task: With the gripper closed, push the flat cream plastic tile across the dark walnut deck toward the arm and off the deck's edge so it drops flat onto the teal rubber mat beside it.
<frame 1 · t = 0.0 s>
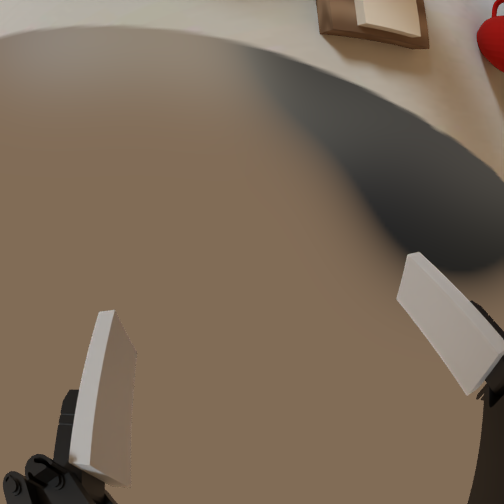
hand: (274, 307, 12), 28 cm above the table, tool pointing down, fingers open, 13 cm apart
tile: (384, 11, 24), point 4 cm above the table, touching deck
ceramic cup: (483, 35, 28), on the table
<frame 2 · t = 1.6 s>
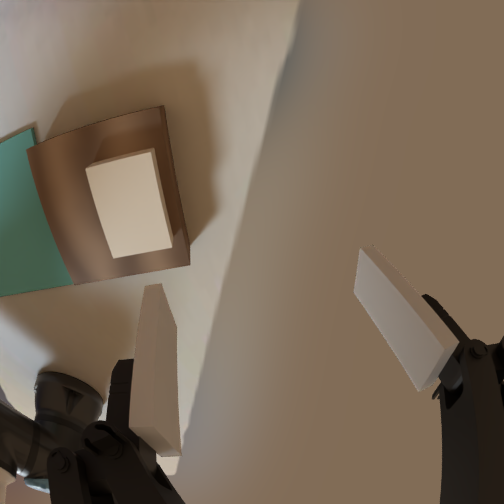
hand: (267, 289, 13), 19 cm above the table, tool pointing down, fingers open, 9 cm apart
tile: (132, 201, 25), point 4 cm above the table, touching deck
deck: (114, 193, 28), on the table
mat: (4, 225, 26), on the table
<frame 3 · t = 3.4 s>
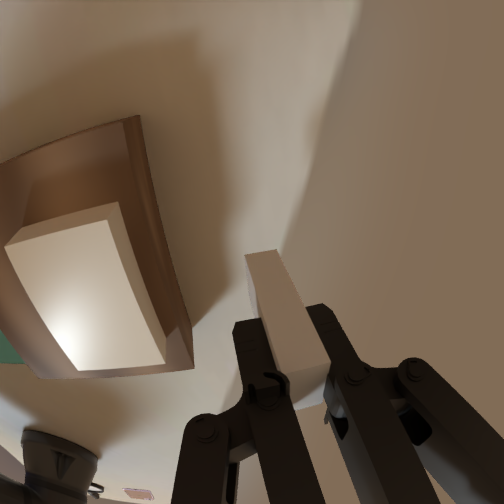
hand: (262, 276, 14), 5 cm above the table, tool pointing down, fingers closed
tile: (94, 289, 14), point 4 cm above the table, touching deck
mobile phone: (139, 492, 54), on the table
deck: (72, 259, 17), on the table
magnifying glass: (87, 485, 51), on the table
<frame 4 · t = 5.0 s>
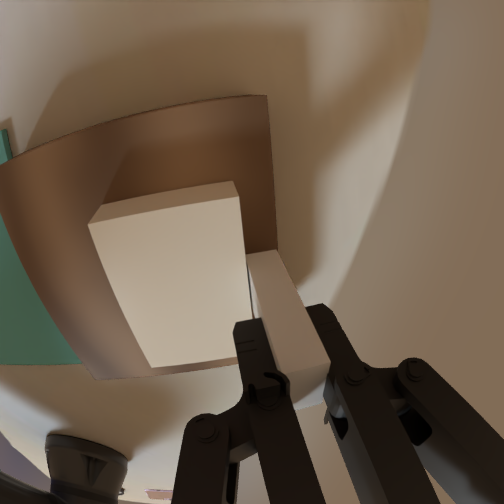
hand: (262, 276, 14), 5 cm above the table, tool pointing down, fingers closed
tile: (183, 276, 14), point 4 cm above the table
mobile phone: (160, 492, 55), on the table
deck: (152, 244, 17), on the table
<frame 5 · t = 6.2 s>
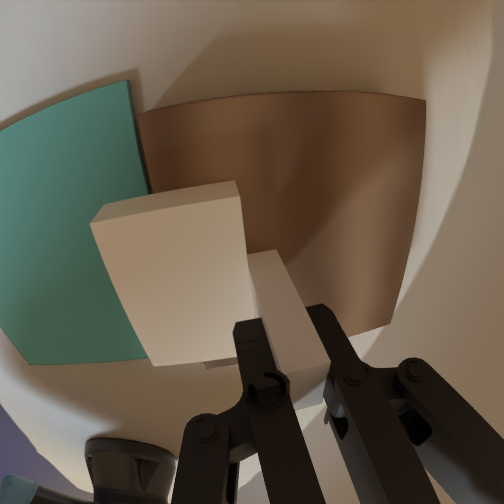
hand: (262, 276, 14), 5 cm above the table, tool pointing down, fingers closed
tile: (186, 275, 14), point 4 cm above the table, touching gripper
deck: (287, 219, 18), on the table
mat: (47, 265, 17), on the table
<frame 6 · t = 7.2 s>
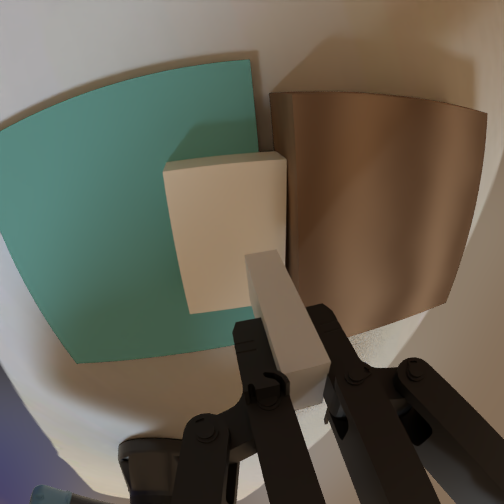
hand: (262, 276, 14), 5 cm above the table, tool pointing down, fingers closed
tile: (227, 229, 17), point 1 cm above the table, touching mat
deck: (373, 207, 19), on the table
mat: (124, 249, 17), on the table
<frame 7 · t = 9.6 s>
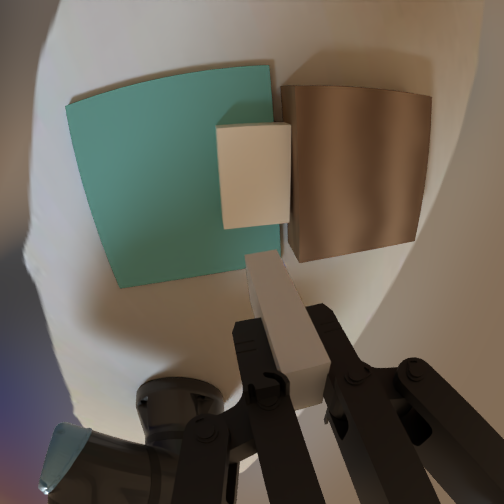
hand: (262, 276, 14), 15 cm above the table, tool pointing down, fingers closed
tile: (252, 171, 26), point 1 cm above the table, touching mat
deck: (351, 164, 27), on the table
mat: (178, 185, 26), on the table
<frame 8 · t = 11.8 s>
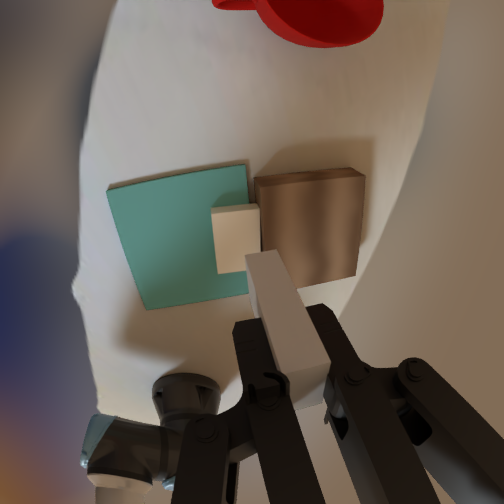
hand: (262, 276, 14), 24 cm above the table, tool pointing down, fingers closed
tile: (235, 235, 40), point 1 cm above the table, touching mat
deck: (305, 224, 41), on the table
mat: (187, 244, 40), on the table
ceramic cup: (278, 11, 25), on the table
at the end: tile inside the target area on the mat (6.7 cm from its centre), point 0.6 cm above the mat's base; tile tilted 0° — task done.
